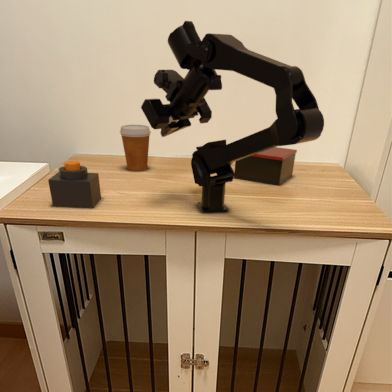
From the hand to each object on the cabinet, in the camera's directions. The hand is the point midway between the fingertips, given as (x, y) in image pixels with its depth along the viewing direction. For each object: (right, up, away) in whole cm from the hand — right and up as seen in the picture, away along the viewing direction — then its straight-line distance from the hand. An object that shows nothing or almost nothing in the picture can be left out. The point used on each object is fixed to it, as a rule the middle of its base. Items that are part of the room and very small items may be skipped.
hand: (162, 135), depth 104 cm
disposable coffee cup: (-11, +4, +28) cm, 30 cm away
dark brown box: (+30, -1, +24) cm, 38 cm away
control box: (-21, -17, -1) cm, 28 cm away
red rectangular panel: (+30, +5, +20) cm, 36 cm away
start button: (-21, -11, -5) cm, 25 cm away
